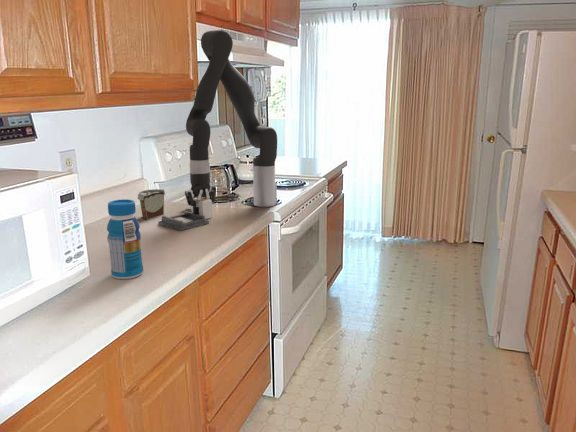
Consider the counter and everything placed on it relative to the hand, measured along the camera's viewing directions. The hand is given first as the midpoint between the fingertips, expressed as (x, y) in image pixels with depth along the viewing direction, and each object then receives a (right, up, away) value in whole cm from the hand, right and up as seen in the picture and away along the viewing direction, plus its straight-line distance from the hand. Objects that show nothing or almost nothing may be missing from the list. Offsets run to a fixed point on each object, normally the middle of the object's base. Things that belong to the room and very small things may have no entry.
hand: (201, 214), depth 189 cm
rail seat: (-5, -3, -10) cm, 11 cm away
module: (0, -1, 0) cm, 1 cm away
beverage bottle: (-10, -16, -59) cm, 62 cm away
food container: (-21, -1, +1) cm, 21 cm away
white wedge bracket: (-5, +2, +14) cm, 15 cm away
